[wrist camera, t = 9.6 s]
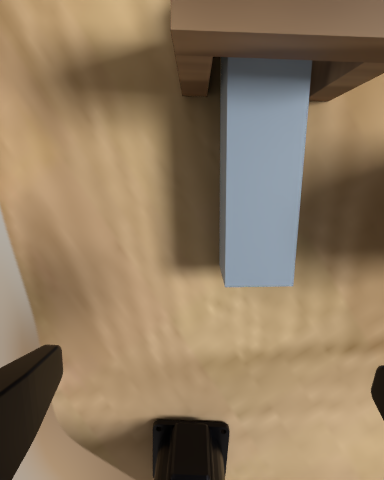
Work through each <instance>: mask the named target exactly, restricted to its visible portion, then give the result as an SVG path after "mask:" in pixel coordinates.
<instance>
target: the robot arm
mask: <svg viewBox="0 0 384 480" xmlns="http://www.w3.org/2000/svg"><path fill="white" fill-rule="evenodd" d="M62 374H63V362H62V350H61V347H60V346H59V345H43V346H41V347H40V348H38V349H36V350H34V351H32V352H30V353H28V354H26V355H24V356H23V357H21V358H19V359H17V360H15V361H13V362H11V363H9V364H7V365H5V366H3V367H1V368H0V480H12V478H13V476H14V475H15V473H16V471H17V469H18V468H19V466H20V464H21V462H22V460H23V459H24V457H25V455H26V453H27V451H28V449H29V448H30V446H31V444H32V442H33V440H34V438H35V436H36V434H37V432H38V430H39V428H40V426H41V423H42V421H43V419H44V417H45V414H46V412H47V410H48V408H49V405H50V403H51V401H52V399H53V396H54V394H55V392H56V390H57V387H58V385H59V383H60V381H61V378H62ZM371 394H372V398H373V400H374V402H375V404H376V406H377V408H378V410H379V412H380V414H381V416H382V418H383V420H384V365H381V366H379V367H378V368H377V370H376V373H375V377H374V380H373V384H372V387H371ZM228 442H229V426H228V424H226V423H219V422H195V421H172V420H157V421H155V422H154V425H153V478H154V480H225V473H226V462H227V452H228Z"/></svg>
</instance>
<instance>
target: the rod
mask: <svg viewBox="0 0 384 480" xmlns="http://www.w3.org/2000/svg"><path fill="white" fill-rule="evenodd" d="M311 69H312V60H288V59H262V58H236V57H221V89H220V255H219V265H220V269H221V273H222V277H223V281H224V285H225V287H271V286H293V282H294V270H295V258H296V246H297V235H298V223H299V211H300V199H301V187H302V176H303V164H304V152H305V140H306V128H307V117H308V105H309V93H310V81H311Z"/></svg>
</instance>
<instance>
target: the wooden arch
mask: <svg viewBox="0 0 384 480" xmlns="http://www.w3.org/2000/svg"><path fill="white" fill-rule="evenodd" d="M171 35H172V40H173V46H174V52H175V57H176V63H177V68H178V74H179V79H180V85H181V90H182V96H203V97H207V92H208V85H209V79H210V72H211V66H212V59H213V57H236V58H262V59H288V60H312V69H311V81H310V93H309V101H330V100H332V99H334V98H336V97H338V96H340V95H342V94H344V93H346V92H348V91H350V90H352V89H354V88H355V87H357V86H359V85H361V84H363V83H365V82H367V81H369V80H371V79H373V78H375V77H377V76H379V75H381V74H383V73H384V0H171Z"/></svg>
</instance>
